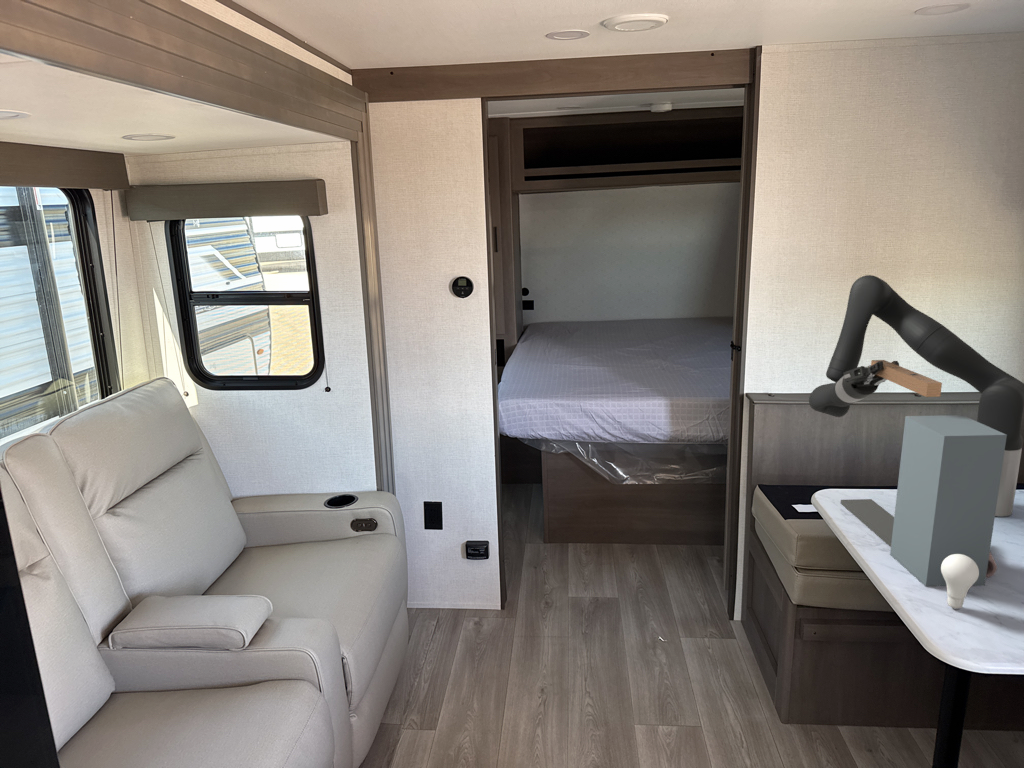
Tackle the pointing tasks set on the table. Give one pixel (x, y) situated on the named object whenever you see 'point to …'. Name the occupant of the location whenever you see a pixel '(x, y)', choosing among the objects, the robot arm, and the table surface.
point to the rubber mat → (872, 517)
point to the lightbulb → (958, 577)
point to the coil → (991, 566)
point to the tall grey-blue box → (946, 494)
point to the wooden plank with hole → (910, 379)
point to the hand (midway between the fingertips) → (889, 365)
